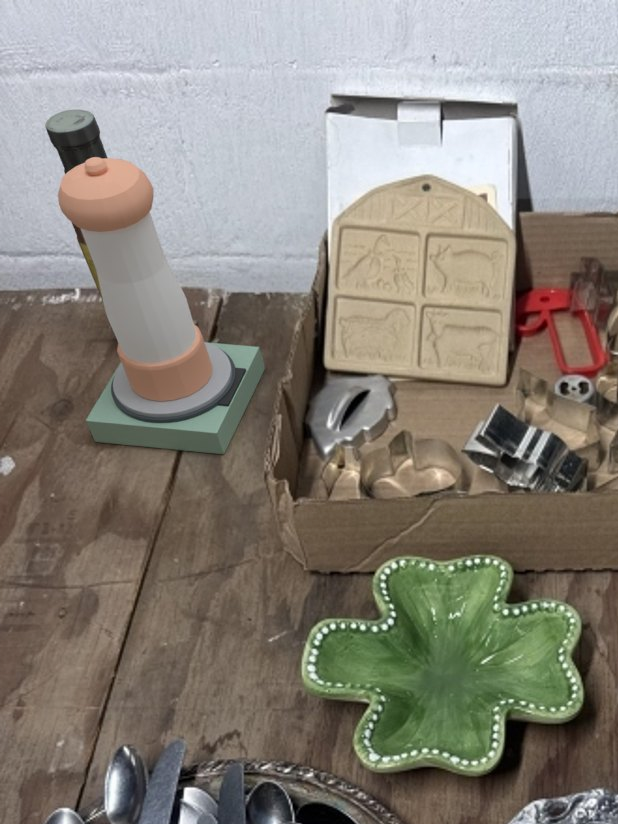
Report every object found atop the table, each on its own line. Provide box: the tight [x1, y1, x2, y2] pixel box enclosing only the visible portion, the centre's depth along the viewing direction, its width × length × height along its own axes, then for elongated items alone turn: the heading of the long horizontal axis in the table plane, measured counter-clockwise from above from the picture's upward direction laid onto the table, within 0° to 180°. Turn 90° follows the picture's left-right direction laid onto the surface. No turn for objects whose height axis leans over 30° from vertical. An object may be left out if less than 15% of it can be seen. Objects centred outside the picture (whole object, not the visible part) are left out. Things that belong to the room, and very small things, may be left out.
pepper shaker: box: [57, 157, 212, 401], centre depth 87 cm, size 7×7×19 cm
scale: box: [85, 341, 266, 455], centre depth 96 cm, size 12×12×3 cm
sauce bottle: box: [45, 109, 108, 302], centre depth 96 cm, size 7×6×20 cm
